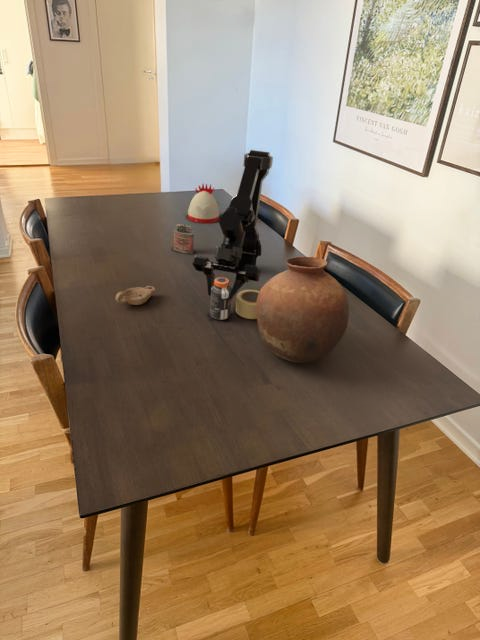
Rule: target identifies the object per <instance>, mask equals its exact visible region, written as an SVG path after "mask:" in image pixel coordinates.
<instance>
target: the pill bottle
mask: <svg viewBox="0 0 480 640" xmlns="http://www.w3.org/2000/svg"><path fill="white" fill-rule="evenodd" d="M232 288H233V287H231V285H230V280H229V279H228V278H227V277H223V276H220V277H216V278H214V282H213V286H212V287H211V295H210V296H209V298H210V299H209V315H210V317H211V318H212V319H215V320H219V321H221V320H226V319H229V318H230V316H231V311H232V309H231V308H232V300H230V295H231V291H232Z"/></svg>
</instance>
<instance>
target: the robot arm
mask: <svg viewBox="0 0 480 640" xmlns="http://www.w3.org/2000/svg"><path fill="white" fill-rule="evenodd" d="M273 160H274V157H273V156H272V155H271V154H270V151H262V150H256V149H255V150H254V149H250V151H249V152H246V153H244V156H243V165H242V167H244V168H243V172H242V175H241V179H240V183H239V187H238V190H237V194H236V195H235V196H234V197H232V198H231V199H230V202H229V205H228V206H227V207H226V209H225V210H224V212H223V213H222V214H221V215H219V220H218V225H219V227H220V230H221V232H222V235H223V239H222V243H221V244H220V246H219V247H218V246H216V247H215V252H214V260H215V261H216V262H213V261H210V259H209V257H207V256H201V255H195V256H194V257H193V259H192V263H191V264H192V267H193V268H194V270H195V271H197V272H201V273H203V274H204V275H205V278H206V285H207V286H206V287H207V295H208V296H209V297H211V287H212V286H213V285H214V283H215V277H216V276H215V273H214V271H219V272H227V273H231V274H235V280H234V282H233V284H232V285H233V286H232V287H231V288H232V291H231V295H230V300H231V301H232V300H233V299H234V297H235V296H236V295H237V294H238V291H239V290H240V289H241V287H243V286H244V285H245V283H247V284H248V283H249V281H251V282H259V281H260V277H261V270H260V268H259V266H258V265H257V258H258V257H261V256H262V244H261V239H260V232H259V230H258V227H257V222H258V215H259V208H260V203H261V202H260V201H261V194H262V189H263V182H264V181H265V179H266V177H267V176H268V175H269V174H270V170H271V169H272V166H273Z"/></svg>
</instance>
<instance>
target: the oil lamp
mask: <svg viewBox="0 0 480 640" xmlns="http://www.w3.org/2000/svg"><path fill="white" fill-rule="evenodd" d="M155 292H156V288H155V287H154V286H153V285H146V286H145V287H141V286H138V287H130V288H129V287H128V288H126V289H124V291H119V292H117V293H116V295H115V301H116V302H117V303H118V304H125V303H127V304H128V305H131V306H139V305H143V304H145V303H146V302H147V301H148V300H149V299H150V298H151V296H152V295H153V294H154V293H155ZM122 295H123V296H122ZM121 296H122V299H120V297H121Z"/></svg>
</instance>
